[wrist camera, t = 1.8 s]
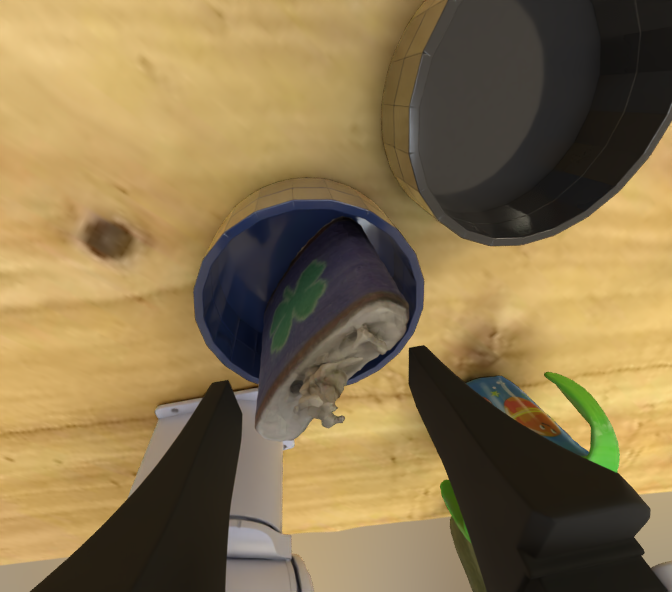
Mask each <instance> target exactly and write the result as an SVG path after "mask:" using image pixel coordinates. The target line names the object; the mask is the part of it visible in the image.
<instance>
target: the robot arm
mask: <svg viewBox="0 0 672 592" xmlns="http://www.w3.org/2000/svg"><path fill="white" fill-rule="evenodd" d="M409 386H410V389H411V392H412V395H413V398H414V401H415V404H416V407H417V409H418V411H419V414H420V416H421V418H422V420H423V422H424V424H425V426H426V428H427V431H428V433H429V435H430V437H431V439H432V441H433V443H434V445H435V447H436V450H437V452H438V454H439V456H440V458H441V460H442V463H443V465H444V467H445V470H446V472H447V475H448V478H449V480H450V483H451V486H452V489H453V491H454V494H455V497H456V500H457V503H458V505H459V508H460V511H461V514H462V517H463V520H464V523H465V525H466V528H467V531H468V534H469V537H470V540H471V543H472V546H473V549H474V552H475V556H476V559H477V562H478V565H479V568H480V571H481V574H482V578H483V581H484V584H485V587H486V590H487V592H672V561H669V562H665V563H661V564H658V565H656V566H654V567H652V568H650V567H649V565H648V564H647V563H646V562H645V560H644V559H643V558H642V556H641V555H643V554H644V549H643V548H642V547H641V546H640V544H639V543H638V542H637V541H636V539H635V538H634V536H635V535H636V534H637V533H638V532H639V531H640V529H641V528H642V527H643V526H644V525H645V524H646V523H647V521H648V520H649V518H650V508H649V506H648V505H647V504H646V503H645V502H644V501H643V500H642V499H641V497H640V496H639V495H638V494H637V492H636V491H635V490H634V489H633V488H632V487H631V486H630V485H629V484H628V483H627V482H626V481H625V480H624V479H623V478H622V476H621V475H620V474H619V473H616V472H614V471H612V470H610V469H608V468H605V467H603V466H601V465H599V464H597V463H594V462H592V461H590V460H588V459H586V458H583V457H581V456H579V455H577V454H575V453H573V452H571V451H569V450H567V449H565V448H563V447H561V446H560V445H558V444H556V443H554V442H552V441H550V440H548V439H547V438H545V437H543V436H541V435H540V434H538V433H536V432H534V431H533V430H531V429H529V428H528V427H526V426H524V425H522V424H521V423H519V422H518V421H516V420H515V419H513V418H511V417H510V416H508V415H507V414H506V413H504V412H503V411H501V410H500V409H498V408H497V407H495V406H494V405H493V404H491V403H490V402H489V401H487V400H486V399H485V398H483V397H482V396H481V395H479V394H478V393H477V392H476V391H474V390H473V389H472V388H471V387H469V386H468V385H467V384H466V383H465V382H464V381H462V380H461V379H460V378H459V377H458V376H457V375H455V374H454V373H453V372H452V371H451V370H450V369H449V368H448V367H447V366H445V365H444V364H443V363H442V362H441V361H440V360H439V359H438V358H437V357H436V356H435V355H434V354H433V353H432V352H431V351H430V350H429V349H428V348H427V347H426V346H424V345H423V346H417V347H412V348H409ZM257 396H258V388H253V389H247V390H242V391H236V392H233V390H232V388H231V385H230V383H229V381H228V380H225V381H220V382H214V383H212V384H211V386H210V387H209V389H208V390H207V392H206V393H205V395H204V397H203V398H197V399H192V400H186V401H181V402H175V403H170V404H164V405H160V406H158V407H157V408H156V410H155V414H156V416H157V417H158V422H157V424H156V427H155V429H154V432H153V434H152V437H151V439H150V442H149V444H148V447H147V449H146V452H145V455H144V457H143V460H142V462H141V465H140V467H139V470H138V472H137V475H136V477H135V480H134V482H133V485H132V487H131V490H130V493H129V496H128V499H127V500H126V501H125V502H124V503H123V504H122V505H121V507H120V508H119V509H118V510H117V511H116V512H115V513H114V514H113V515H112V516H111V517H110V518H109V519H108V520H107V521H106V522H105V523H104V524H103V525H102V526H101V527H100V528H99V529H98V530H97V531H96V532H95V533H94V534H93V535H92V536H91V537H90V538H89V539H88V540H87V541H86V542H85V543H84V544H83V545H82V546H81V547H80V548H79V549H78V550H76V551H75V552H74V553H73V554H72V555H71V556H70V557H69V558H68V559H67V560H66V561H65V562H63V563H62V564H61V565H60V566H59V567H58V568H57V569H55V570H54V571H53V572H52V573H51V574H50V575H49V576H47V577H46V578H45V579H44V580H43V581H42V582H41V583H39V584H38V585H37V586H36V587H35V588H34V589H32V590H31V591H30V592H314V588H313V583H312V580H311V576H310V574H309V572H308V570H307V568H306V566H305V563H304V561H303V560H302V558H301V557H300V556H299V555H297V554H292V553H291V535H287V534H282V495H283V450H286V449H291V448H293V447H294V446H295V441H294V440H292V441H288V440H286V441H281V442H278V441H271V440H267V439H265V438H263V437H262V436H261V435H260V434H259V433H258V432H257V431H256V430H255V413H256V405H257ZM175 408H176V409H175Z"/></svg>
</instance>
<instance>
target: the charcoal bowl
mask: <svg viewBox="0 0 672 592" xmlns="http://www.w3.org/2000/svg"><path fill="white" fill-rule="evenodd" d="M671 122H672V0H425V1H424V3H423V4H422V5H421V6H420V8H419V9H418V10H417V12H416V13H415V14H414V16H413V17H412V19H411V21H410V22H409V24H408V26H407V27H406V29H405V31H404V33H403V35H402V37H401V39H400V41H399V43H398V45H397V47H396V49H395V52H394V55H393V58H392V61H391V63H390V66H389V69H388V73H387V77H386V82H385V86H384V92H383V99H382V111H381V126H382V137H383V143H384V148H385V152H386V156H387V159H388V162H389V165H390V167H391V170H392V172H393V174H394V176H395V177H396V179H397V181H398V182H399V184H400V185H401V187H402V188H403V189H404V191H405V192H406V193H407V195H408V196H409V197H410V198H411V199H412V200H413V201H415V202H416V203H417V204H418V205H419V206H421V207H422V208H423V209H424V210H426V211H427V212H428V213H429V214H430V215H432V216H433V217H434V218H435V219H437V220H438V221H439V222H440V223H442V224H443V225H445V226H446V227H447V228H449V229H450V230H451V231H453V232H454V233H455V234H457V235H458V236H459V237H461V238H463V239H467V240H470V241H474V242H477V243H480V244H484V245H487V246H518V245H525V244H528V243H531V242H535V241H538V240H542V239H545V238H548V237H552V236H554V235H557V234H558V233H560V232H562V231H564V230H566V229H568V228H569V227H571V226H573V225H575V224H577V223H579V222H580V221H582V220H584V219H586V218H587V217H589V216H590V215H591V214H592V213H594V212H595V211H596V210H597V209H599V208H600V207H601V206H602V205H603V204H605V203H606V202H607V201H608V200H610V199H611V198H612V197H613V196H614V195H616V194H617V193H618V192H619V191H620V190H621V189H622V188H623V187H624V186H625V185H626V183H627V182H628V181H629V180H630V179H631V178H632V177H633V175H634V174H635V173H636V172H637V171H638V170H639V169H640V167H641V166H642V165H643V164H644V163H645V162H646V161H647V159H648V158H649V156H650V155H651V154H652V152H653V151H654V149H655V148H656V146H657V144H658V143H659V141H660V139H661V138H662V136H663V135H664V133H665V131H666V130H667V128H668V126H669V125H670V123H671Z"/></svg>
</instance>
